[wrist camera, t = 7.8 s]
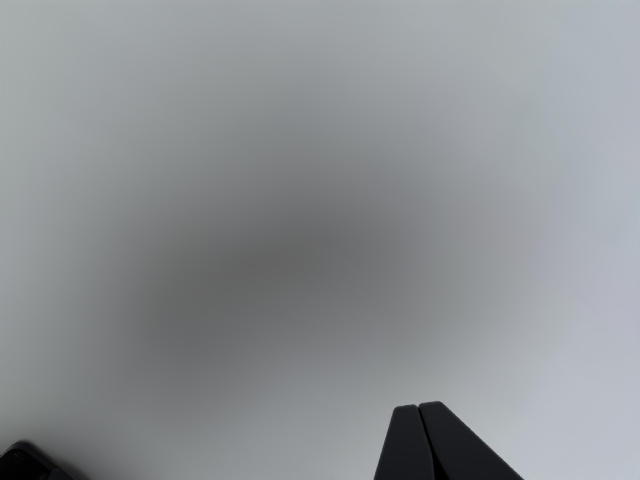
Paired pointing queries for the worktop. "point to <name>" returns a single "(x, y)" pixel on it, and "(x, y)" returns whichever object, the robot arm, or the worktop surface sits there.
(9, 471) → the robot arm
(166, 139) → the worktop surface
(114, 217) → the worktop surface
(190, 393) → the worktop surface
